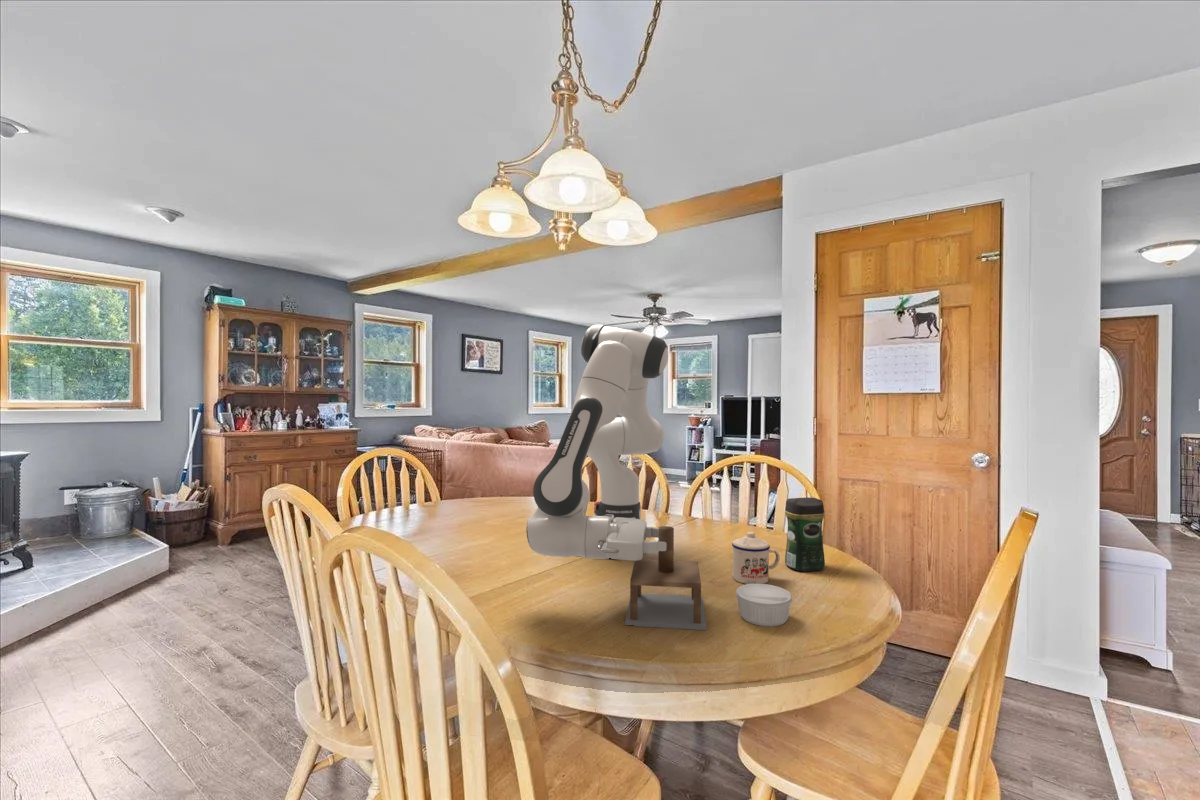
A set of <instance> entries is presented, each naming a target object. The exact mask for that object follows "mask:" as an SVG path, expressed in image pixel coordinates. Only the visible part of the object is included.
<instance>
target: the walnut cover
mask: <svg viewBox="0 0 1200 800" xmlns="http://www.w3.org/2000/svg"><path fill="white" fill-rule="evenodd" d="M658 529H659V538H657V539H658V540H660V541H666V543H667V546H666V551H657V552H658V556H657V559H645V558H644V559H643V558H642V560H638V561H633V562H634V563H633V567H632V571H631V575H630V583H629V585H630V586H629V591H630V593H629V596H630V597H629V601H630V620H637V618H638V597H641V593H642V586H645V587H647V586H648V587H664V588H665V587H667V588H685V589H691V596H692V600H694V615H693V621H694V623H699V624H701V596H702V581H701V573H700V565H699V564H700V563H699V561H691V560H690V561H689V560H687V561H686V560H674V559H675V558H674V554H675V553H674V552H675V547H674V546H675V545H674V544H675V543H674V542H675V541H674V539H675V536H674V535H675V533H674V532H675V528H674V527H673V526H668V525H663V526H659V527H658ZM658 540H657V541H658Z"/></svg>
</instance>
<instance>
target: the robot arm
mask: <svg viewBox="0 0 1200 800" xmlns="http://www.w3.org/2000/svg"><path fill="white" fill-rule="evenodd" d="M580 345H581V349H580V353H581V356H582V359H583V360H584V361H585V363H587V364H586V365H585V368H584V370H583V373H582V376H581V378H580V381H579V384H578V387H577V390H576V394H575V397H574V403H573V406H572V410H571V413H570V416H569V419H568V421H567V423H566V426H565V427H564V431H563V433H562V435H561V437H560V440H559V443H558V445H557V448H556V450H555V453H554V455H553V456H552V458H551V460H550V461H549V462H548V464H547V465H546V466H545V467H544V469H542V470H541V472H540V473H539V474H538V476H537V477H536V479H535V480H534V483H533V488H532V490H533V491H532V493H533V500H534V502H535V504H536V506H537V508H536V510H534V513H533V514H532V515H531V516H530V517H529V518H528V519H527V523H526V539H527V542H528V546H529V548H530V549H531V550H532V551H533V552H534V553H536V554H538V555H542V556H544V557H545V556H548V557H552V558H553V557H554V558H555V557H556V558H557V557H558V558H570V557H582V558H584V559H595V560H596V559H601V560H609V558H611V559H612V560H621V561H633V562H635V561H638V560H642V559H643V558H644V557H643V556H644V554H651V553H655V552H658V551H666V546H667V543H666V541H660V540H655V541H649V540H647V539H648V538H649V539H650V538H657V539H658V538H659V527H657V528H656V527H654V526H647V525H648V524H647V521H646V520H645V519H642V518H641V517H642V513H641V511H642V509H641V507H642V506H641V501H639V499H640V478H639V476H638V474H637V473H636V472H635V471H634V470H633V469H631V468H629V467H628V466H626V465H624V464H622V463H620V457H619V456H622V455H623V456H626V455H627V456H629V455H630V456H632V455H634V456H635V455H646V454H652V453H654V452H658V451H659V449H661V447H662V445H663V443H664V440H665V439H664V438H665V437H664V436H665V433H664V429H663V426H662V425H661V423H660V422H659V421H658V420H657V419H655V418H654V417H653V416H652V415H651V414H650V413H649V411H648V408H647V392H648V386H649V379H655V378H657V377H659V376H661V374H662V373H663V371H664V370H665V369H666V367H667V365H668V361H669V349H668V346H669V345H667V343H666V341H665V340H664V339H662V338H660V337H657V336H655V335H654V336H652V335H649V334H646V333H643V332H640V331H637V330H633V329H626V328H620V327H615V326H607V325H606V324H593V325H591V326H590V327H588V328H587V329H586V331H585V333H584V335H583V337H582V340H581V344H580ZM618 415H619V417H618ZM587 457H588V458H590V459H591V461H592V462H593V463H594V465H595V467H596V468H597V471H598V474H599V479H600V480H599V481H600V482H599V483H600V498H601V500H600V499H597V500H596V501H594V504H593V505H594V506H593V509H594V514H593V515H590V516H589V515H586V513H587V509H588V505H589V501H590V490H589V487H588V485H587V483H586V482H585V481H584V480H583V479H582V477H583V476H582V471H583V467H584V466H585V465H584V464H585V461H586V459H587ZM611 559H610V560H611Z"/></svg>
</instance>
